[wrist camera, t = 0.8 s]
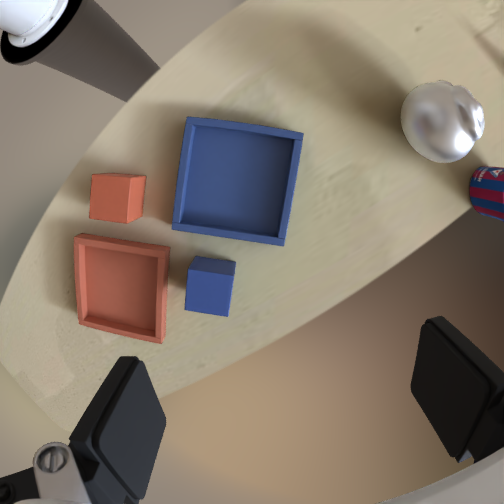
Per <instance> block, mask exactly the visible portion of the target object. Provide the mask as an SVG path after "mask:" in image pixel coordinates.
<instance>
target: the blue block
mask: <svg viewBox="0 0 504 504" xmlns="http://www.w3.org/2000/svg"><path fill="white" fill-rule="evenodd" d="M235 267H236V262H233V261H227V260H220V259H213V258H207V257H200V256H195V258H194V260H193V262H192V263H191V265H190V267H189V268H188V274H187V285H186V297H185V310H188V311H194V312H200V313H206V314H213V315H219V316H226V317H228V315H229V308H230V301H231V295H232V288H233V281H234V274H235Z"/></svg>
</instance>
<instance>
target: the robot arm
mask: <svg viewBox="0 0 504 504" xmlns="http://www.w3.org/2000/svg"><path fill="white" fill-rule="evenodd" d="M67 3H68V0H0V29H2V30H4V31H6V32H8V38H9V41H10V43H11V44H12V45H14V46H17V47H25V46H28V45H30V44H32V43H34V42H35V41H37V40H38V39H40V38H41V37H42V36H43V35H45V34H46V33H47V32H48V31H49V30H50V29H51V28H52V26H53V25H54V24H55V23H56V22H57V20H58V19H59V18H60V16H61V15H62V13H63V11H64V10H65V8H66V6H67ZM411 392H412V394H413V396H414V397H415V399H416V400H417V402H418V404H419V405H420V407H421V408H422V410H423V412H424V413H425V415H426V416H427V418H428V420H429V421H430V423H431V425H432V426H433V428H434V430H435V431H436V433H437V435H438V436H439V438H440V440H441V441H442V443H443V445H444V447H445V448H446V450H447V452H448V453H449V455H450V456H451V457H455V459H456V460H457V462H458V463H460V462H462V461H464V460H466V459H468V458H470V457H471V456H473V458H474V464H473V465H471V466H469V467H467V468H465V469H463V470H461V471H459V472H457V473H455V474H453V475H451V476H448V477H446V478H444V479H442V480H440V481H437V482H435V483H433V484H430V485H428V486H425V487H423V488H420V489H418V490H415V491H412V492H410V493H407V494H405V495H401V496H398V497H395V498H392V499H389V500H386V501H383V502H379V503H376V504H504V373H503V371H502V370H501V369H500V368H499V367H498V366H496V365H495V364H494V363H493V362H492V361H491V360H490V359H489V358H488V357H487V356H486V355H485V354H484V353H483V352H482V351H481V350H480V349H479V348H478V347H476V346H475V345H474V344H473V343H472V342H471V341H470V340H469V339H468V338H467V337H465V336H464V335H463V334H462V333H461V332H460V331H459V330H458V329H457V328H455V327H454V326H453V325H452V324H451V323H450V322H449V321H447V320H446V319H445V318H444V317H442V316H438V317H434V318H431V319H427V320H426V322H425V324H423V325H422V327H421V332H420V338H419V344H418V350H417V356H416V361H415V366H414V371H413V376H412V381H411ZM165 427H166V417H165V414H164V412H163V410H162V407H161V405H160V403H159V400H158V398H157V395H156V393H155V390H154V388H153V385H152V383H151V380H150V378H149V375H148V372H147V370H146V367H145V364H144V362H143V361H139V359H138V358H137V357H136V356H121V357H120V358H119V359H118V360H117V362H116V363H115V365H114V366H113V368H112V369H111V371H110V372H109V374H108V376H107V377H106V379H105V380H104V382H103V383H102V385H101V387H100V388H99V390H98V391H97V393H96V394H95V396H94V398H93V399H92V401H91V403H90V404H89V406H88V407H87V409H86V411H85V412H84V414H83V416H82V417H81V419H80V421H79V422H78V424H77V426H76V427H75V429H74V431H73V432H72V434H71V436H70V437H69V440H70V443H69V445H68V446H67V445H66V444H64V443H61V442H51V443H47V444H45V445H43V446H42V447H41V448H39V449H38V450H37V452H36V453H35V455H34V458H33V467H31V468H29V469H26V470H23V471H20V472H17V473H14V474H11V475H8V476H5V477H2V478H0V504H138V503H139V500H140V499H143V498H144V496H145V494H146V490H147V487H148V483H149V480H150V476H151V473H152V470H153V466H154V463H155V459H156V456H157V453H158V449H159V446H160V443H161V439H162V436H163V433H164V430H165Z"/></svg>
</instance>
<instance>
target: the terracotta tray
mask: <svg viewBox="0 0 504 504" xmlns="http://www.w3.org/2000/svg"><path fill="white" fill-rule="evenodd" d="M169 256H170V247H167V246H161V245H154V244H148V243H141V242H135V241H128V240H122V239H116V238H109V237H103V236H97V235H90V234H84V233H81V234H79V235H77V236H75V237H74V270H75V288H76V301H77V311H78V320H79V324H80V325H84V326H87V327H91V328H95V329H98V330H102V331H106V332H110V333H114V334H118V335H122V336H127V337H131V338H135V339H140V340H144V341H149V342H154V343H159V344H162V342H163V340H164V337H165V330H166V304H167V285H168V269H169Z"/></svg>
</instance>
